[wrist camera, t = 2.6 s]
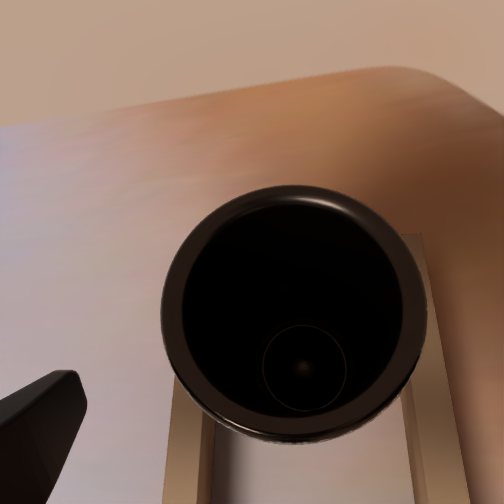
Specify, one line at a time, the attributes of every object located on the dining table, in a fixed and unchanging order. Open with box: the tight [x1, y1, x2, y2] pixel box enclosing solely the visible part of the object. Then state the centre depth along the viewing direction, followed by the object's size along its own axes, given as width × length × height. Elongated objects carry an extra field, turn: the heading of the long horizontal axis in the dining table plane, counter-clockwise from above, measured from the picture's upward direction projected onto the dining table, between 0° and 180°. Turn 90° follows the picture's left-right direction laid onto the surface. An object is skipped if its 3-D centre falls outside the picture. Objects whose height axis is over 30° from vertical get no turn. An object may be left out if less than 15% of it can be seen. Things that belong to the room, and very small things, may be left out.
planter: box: [160, 185, 428, 445], centre depth 11 cm, size 4×4×10 cm
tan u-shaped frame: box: [162, 233, 470, 504], centre depth 14 cm, size 14×10×2 cm
